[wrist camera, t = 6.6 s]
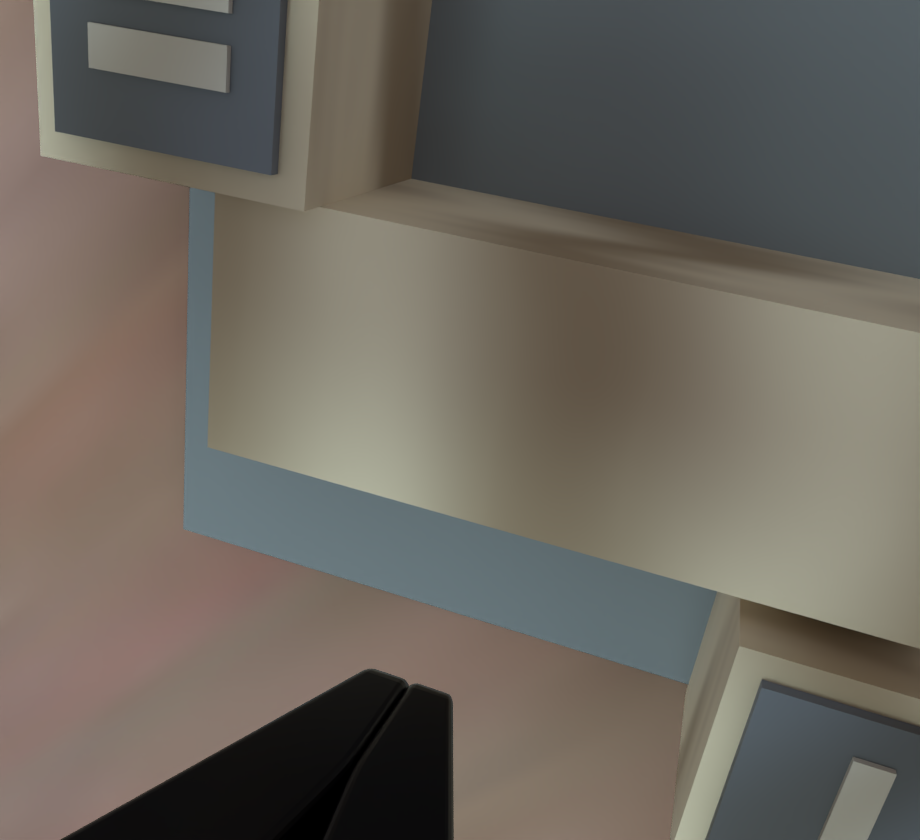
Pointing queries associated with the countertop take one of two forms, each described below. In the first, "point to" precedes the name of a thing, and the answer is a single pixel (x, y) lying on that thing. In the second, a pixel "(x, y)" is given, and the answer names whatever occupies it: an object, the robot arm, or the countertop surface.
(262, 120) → the number block
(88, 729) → the countertop surface
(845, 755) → the number block
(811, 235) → the mat
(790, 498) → the plain bar
